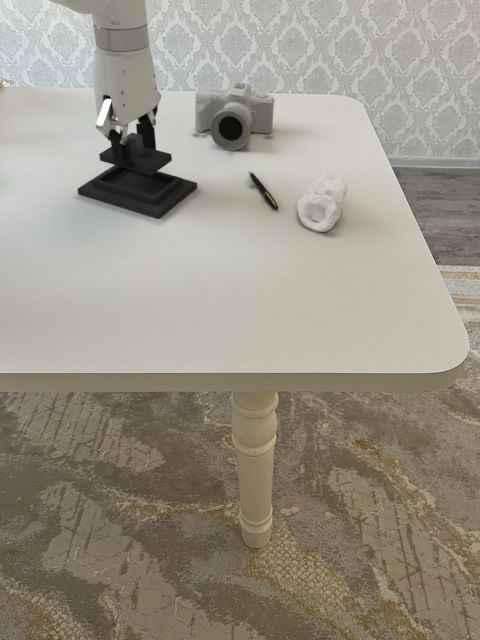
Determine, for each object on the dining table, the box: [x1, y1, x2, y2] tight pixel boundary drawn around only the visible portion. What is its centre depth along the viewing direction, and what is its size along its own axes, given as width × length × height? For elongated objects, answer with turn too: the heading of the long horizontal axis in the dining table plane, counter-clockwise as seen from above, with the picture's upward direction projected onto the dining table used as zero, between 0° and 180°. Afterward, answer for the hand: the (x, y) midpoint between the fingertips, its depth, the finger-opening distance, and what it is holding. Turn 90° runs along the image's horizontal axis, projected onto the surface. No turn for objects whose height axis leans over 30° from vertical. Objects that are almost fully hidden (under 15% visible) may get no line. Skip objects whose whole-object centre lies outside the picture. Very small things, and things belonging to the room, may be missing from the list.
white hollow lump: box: [295, 173, 348, 232], centre depth 95 cm, size 9×12×8 cm
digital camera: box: [194, 82, 276, 152], centre depth 116 cm, size 17×14×10 cm
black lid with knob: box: [98, 132, 173, 175], centre depth 95 cm, size 10×6×4 cm, turn 64°
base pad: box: [77, 165, 198, 220], centre depth 100 cm, size 16×12×2 cm
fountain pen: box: [248, 170, 279, 211], centre depth 101 cm, size 14×1×2 cm, turn 20°
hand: (135, 156), depth 96 cm, fingers closed on black lid with knob, 6 cm apart
